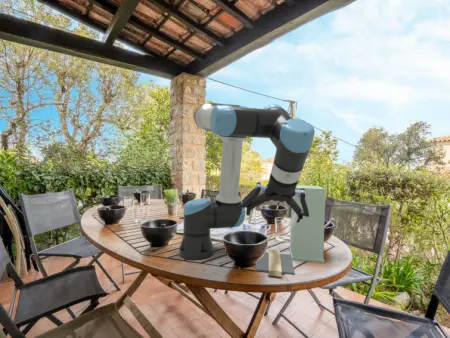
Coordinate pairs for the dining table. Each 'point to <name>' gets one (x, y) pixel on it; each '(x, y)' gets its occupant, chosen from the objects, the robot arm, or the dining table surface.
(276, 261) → the block
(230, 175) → the robot arm
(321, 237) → the stand
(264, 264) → the mat
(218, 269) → the dining table surface
